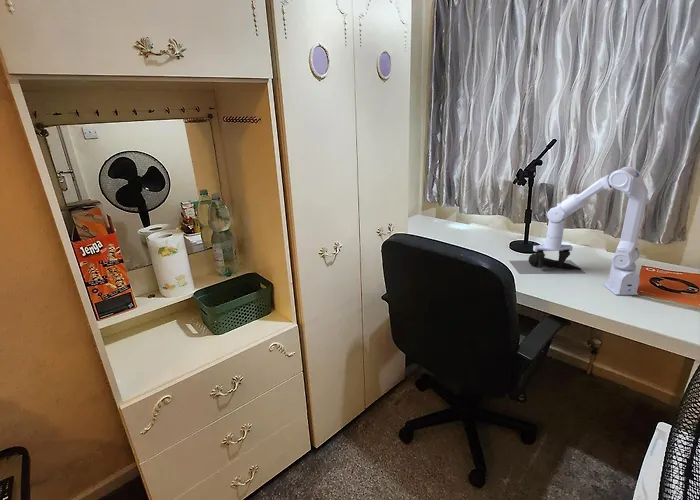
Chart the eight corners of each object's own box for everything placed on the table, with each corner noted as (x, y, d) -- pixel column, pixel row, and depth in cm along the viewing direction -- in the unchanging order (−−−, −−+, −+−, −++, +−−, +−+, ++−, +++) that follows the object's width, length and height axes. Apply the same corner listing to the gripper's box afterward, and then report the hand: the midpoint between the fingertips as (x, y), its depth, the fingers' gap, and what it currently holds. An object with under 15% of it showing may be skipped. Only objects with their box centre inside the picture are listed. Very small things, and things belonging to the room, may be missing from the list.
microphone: (577, 275, 160) (526, 264, 167) (581, 261, 160) (529, 251, 166) (580, 276, 155) (527, 265, 162) (584, 262, 154) (530, 252, 161)
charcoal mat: (585, 273, 155) (585, 273, 155) (519, 273, 157) (519, 273, 157) (570, 260, 168) (570, 259, 168) (509, 260, 171) (509, 260, 170)
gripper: (569, 232, 157) (564, 263, 161) (532, 233, 158) (528, 263, 163) (577, 237, 150) (571, 269, 155) (538, 238, 151) (534, 270, 156)
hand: (549, 267), depth 158 cm, fingers open, 7 cm apart
